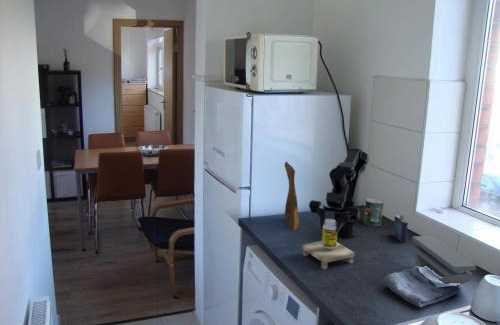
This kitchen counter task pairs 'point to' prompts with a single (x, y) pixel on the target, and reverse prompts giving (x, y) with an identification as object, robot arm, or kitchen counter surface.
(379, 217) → the canned tomato
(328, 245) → the supplement bottle
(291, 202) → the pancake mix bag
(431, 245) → the sharpening stone
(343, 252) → the beige wooden stand
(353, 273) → the kitchen counter surface
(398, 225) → the flask
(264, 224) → the kitchen counter surface
